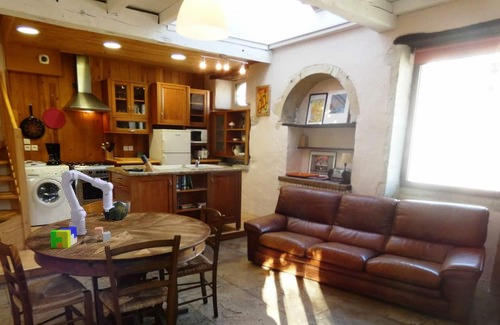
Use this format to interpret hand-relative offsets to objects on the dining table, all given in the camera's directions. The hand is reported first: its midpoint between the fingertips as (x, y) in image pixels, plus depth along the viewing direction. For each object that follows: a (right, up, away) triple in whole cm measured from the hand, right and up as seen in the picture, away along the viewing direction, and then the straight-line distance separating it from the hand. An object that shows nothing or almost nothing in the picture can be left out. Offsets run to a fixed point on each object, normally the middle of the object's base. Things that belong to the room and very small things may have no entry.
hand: (108, 219), depth 206 cm
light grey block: (+5, -11, -14) cm, 18 cm away
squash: (-9, -7, +36) cm, 38 cm away
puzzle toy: (-16, -12, -22) cm, 30 cm away
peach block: (-4, -10, -4) cm, 12 cm away
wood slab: (-3, -11, -16) cm, 20 cm away
